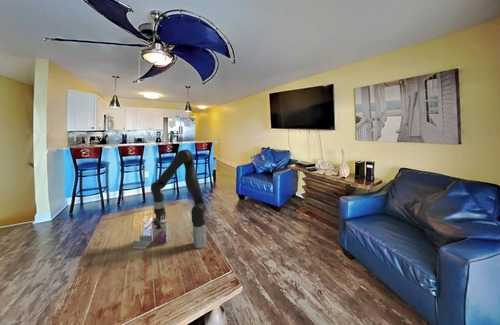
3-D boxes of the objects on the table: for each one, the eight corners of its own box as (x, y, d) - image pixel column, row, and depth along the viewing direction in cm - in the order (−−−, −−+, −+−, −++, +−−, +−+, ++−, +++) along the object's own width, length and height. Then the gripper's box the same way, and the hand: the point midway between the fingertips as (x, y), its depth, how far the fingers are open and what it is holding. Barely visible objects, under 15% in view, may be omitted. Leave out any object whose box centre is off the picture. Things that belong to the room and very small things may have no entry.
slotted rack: (141, 241, 150) (140, 235, 150) (152, 242, 150) (151, 235, 149) (133, 248, 141) (132, 241, 140) (144, 248, 141) (144, 242, 140)
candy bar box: (152, 241, 147) (151, 221, 144) (156, 238, 152) (155, 218, 149) (166, 242, 146) (165, 222, 143) (169, 239, 151) (168, 219, 148)
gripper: (158, 210, 137) (160, 232, 140) (168, 203, 152) (169, 223, 154) (148, 210, 138) (150, 231, 140) (159, 203, 152) (160, 222, 155)
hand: (160, 227), depth 147 cm, fingers closed on candy bar box, 5 cm apart
